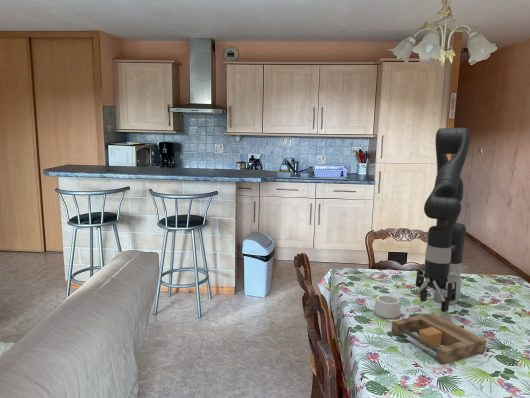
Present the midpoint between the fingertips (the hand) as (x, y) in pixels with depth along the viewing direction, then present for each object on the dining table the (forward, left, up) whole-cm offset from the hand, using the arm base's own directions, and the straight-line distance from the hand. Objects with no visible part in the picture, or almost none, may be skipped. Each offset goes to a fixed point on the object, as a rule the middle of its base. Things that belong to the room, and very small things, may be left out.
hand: (433, 306), depth 136 cm
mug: (-3, -24, -13) cm, 28 cm away
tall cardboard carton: (0, 0, -13) cm, 13 cm away
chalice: (-18, -10, -13) cm, 25 cm away
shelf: (-3, 0, -13) cm, 13 cm away
